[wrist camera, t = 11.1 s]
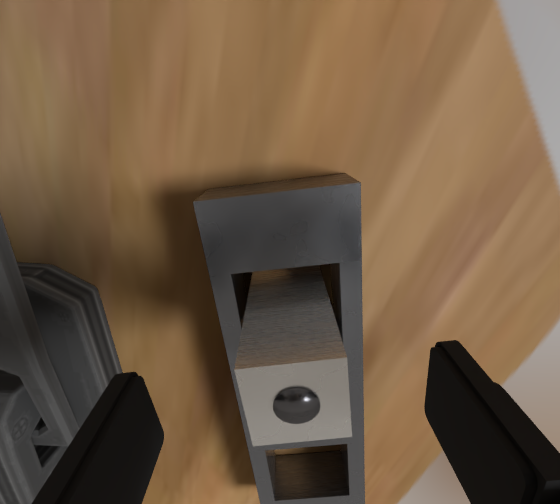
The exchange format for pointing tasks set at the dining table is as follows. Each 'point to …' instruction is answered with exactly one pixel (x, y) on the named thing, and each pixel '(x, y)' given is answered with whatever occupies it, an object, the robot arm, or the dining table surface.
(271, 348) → the grey tall square block
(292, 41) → the dining table surface
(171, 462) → the dining table surface
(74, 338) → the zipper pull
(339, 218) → the rail
